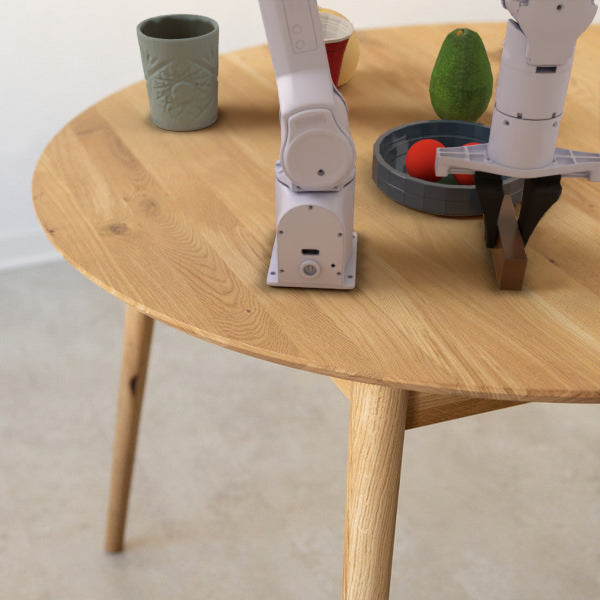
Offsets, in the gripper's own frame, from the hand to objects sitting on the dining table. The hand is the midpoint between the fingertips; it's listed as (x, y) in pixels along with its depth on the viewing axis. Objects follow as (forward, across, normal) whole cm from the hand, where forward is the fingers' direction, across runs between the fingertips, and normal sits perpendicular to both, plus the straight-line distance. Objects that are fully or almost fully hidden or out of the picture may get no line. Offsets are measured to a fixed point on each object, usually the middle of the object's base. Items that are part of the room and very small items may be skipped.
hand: (504, 243), depth 74 cm
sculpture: (+1, +21, -44) cm, 49 cm away
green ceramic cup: (+1, +37, -30) cm, 48 cm away
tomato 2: (-2, +2, -13) cm, 13 cm away
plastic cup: (+1, +21, -33) cm, 39 cm away
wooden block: (+1, 0, 0) cm, 1 cm away
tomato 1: (-2, +7, -14) cm, 15 cm away
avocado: (+1, +2, -31) cm, 31 cm away
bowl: (+1, +4, -15) cm, 16 cm away
